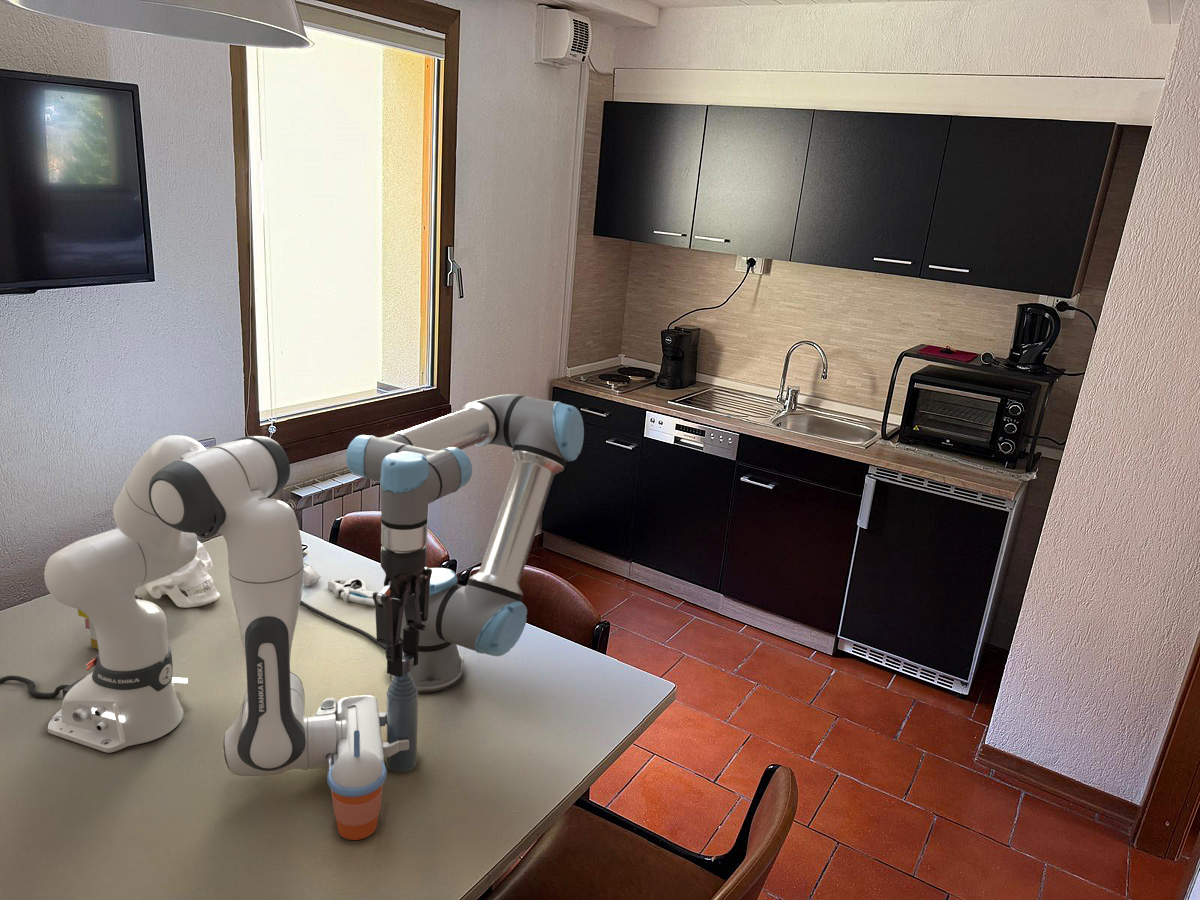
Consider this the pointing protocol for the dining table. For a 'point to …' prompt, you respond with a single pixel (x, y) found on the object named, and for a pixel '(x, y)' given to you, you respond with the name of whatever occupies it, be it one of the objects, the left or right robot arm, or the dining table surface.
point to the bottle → (402, 721)
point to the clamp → (310, 576)
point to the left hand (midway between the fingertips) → (407, 731)
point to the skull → (188, 582)
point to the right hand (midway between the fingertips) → (402, 668)
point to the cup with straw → (357, 791)
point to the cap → (408, 661)
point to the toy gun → (352, 591)
